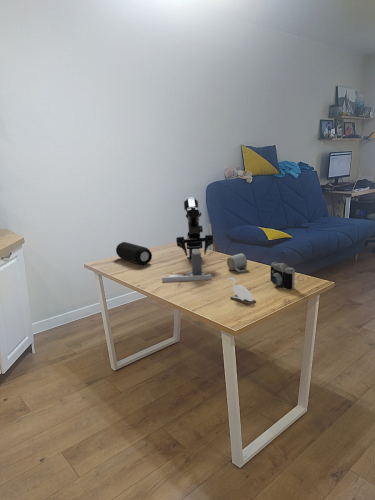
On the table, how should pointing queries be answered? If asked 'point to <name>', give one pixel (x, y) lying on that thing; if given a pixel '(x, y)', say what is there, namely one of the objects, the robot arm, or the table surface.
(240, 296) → the figurine
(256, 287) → the table surface
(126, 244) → the portable speaker
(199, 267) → the grey upright cylinder
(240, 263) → the ceramic mug
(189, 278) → the white tray
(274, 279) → the camera
